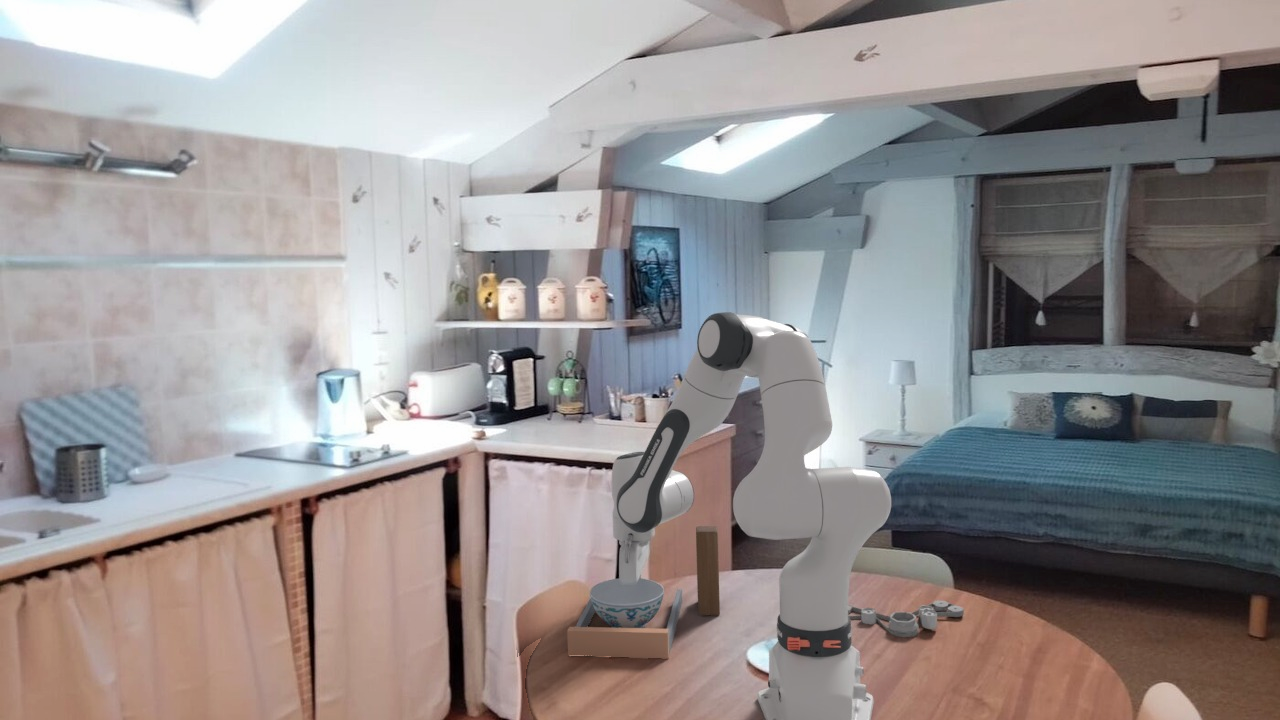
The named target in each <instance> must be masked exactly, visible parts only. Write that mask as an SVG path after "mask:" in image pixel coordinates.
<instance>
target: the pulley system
mask: <svg viewBox="0 0 1280 720" xmlns="http://www.w3.org/2000/svg"><path fill="white" fill-rule="evenodd" d="M964 611H965V610H964V607H963V606H959V605H955V604H953V603H951V602H948V601H946V600H934V601H933V602H931V603H929V604H928V605H925V604H922V605H921V606H919V607H918V609H917V610H915V611H912V612H907V611H894V612H893V613H891V614H889V615H885V614H881V613H878V612H877V611H876V608H872V607H863V608H859V607H856V606H852V605H849V604H848V617H849V618H850V620H860V621H861V622H862V623H863V624H866V625H875V624H876V623H878V624H879V625H880V626H882V627H883V628H884V629H885V631H887V632H888V633H889V634H891V635H892V636H894V637H898V638H914V637H916V636H918V635H919V627H920V623H921V626H922V627H923V628H925V629H928V630H935V629H937V628H938V618H939V617H940V618H941V617H942V618H944V617H946V618H947V617H952V618H959V617H962V616H963V615H964V614H965V613H964ZM851 612H854V613H858V615H850V614H851ZM859 614H860V615H859ZM849 615H850V616H849ZM917 616H918V621H916V620H917ZM880 619H881V620H885V621H888V624H887V625H885V624H884V623H883V622H882V621H881V620H880Z"/></svg>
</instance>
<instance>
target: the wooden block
mask: <svg viewBox="0 0 1280 720" xmlns="http://www.w3.org/2000/svg"><path fill="white" fill-rule="evenodd" d="M695 529H696V530H695V543H696V544H695V545H696V546H695V547H696V578H697V579H696V581H697V583H696V584H697V585H696V586H697V614H698V616H700V615H711V616H720V613H721V607H720V604H721V603H720V575H719V574H720V569H719V534H718V533H719V532H718V531H719V530H718V529H719V528H718V526H716V525H707V526H706V525H704V526H703V525H700V526H696V528H695Z"/></svg>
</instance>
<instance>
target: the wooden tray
mask: <svg viewBox="0 0 1280 720" xmlns="http://www.w3.org/2000/svg"><path fill="white" fill-rule="evenodd" d="M682 604H683V589H682V588H678V589H676V593H675V596H674V599H673V604H672V607H671V611H670V614H669V615H670V616H669V619H668V621H667V622H668V623H667V626H666V628H651V627H650V628H649V627H647V628H646V627H644V628H612V627H606V626H605V627H600V626H599V627H597V626H588V624H589V622H590V620H591V618H592V616H593V615H595V614H594V612H595V609H594V606H593V604H592V601H591V597H589V600H588V602H587V604H586V605H585V608H584V609H583V611H582V613H581V615H580V616H579V618H578V621H577V623H576V624H575V626H569V627H568V629H567V633H566V635H567V636H566V637H567V654H568V655H584V656H585V655H587V656H588V655H589V656H591V655H592V656H611V657H629V658H628V659H648V658H662V659H661V660H668V658H670V654H671V650H672V647H673V646H672V645H673V643H674V642H673V641H674V638H675V634H676V630H677V625H678V621H679V618H680V614H679V613H681V610H680V609H682V606H681V605H682ZM595 613H596V612H595ZM593 617H594V616H593ZM678 617H679V618H678ZM592 619H593V618H592ZM591 621H592V620H591ZM590 623H591V622H590ZM589 625H590V624H589ZM587 626H588V627H587ZM568 655H567V656H568Z"/></svg>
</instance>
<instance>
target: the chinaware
mask: <svg viewBox="0 0 1280 720" xmlns="http://www.w3.org/2000/svg"><path fill="white" fill-rule="evenodd" d="M664 594H665V588H664V586H663V585H662V584H661V583H659V582H657V581H655V580H651V579H647V578H642V577H641V578H639V580H638V582H637V584H636V585H622V584H620V580H619V577H618V578H612V579H608V580H604V581H602V582H599V583H597V584H595V585H593V586H592V587H591V589H590V590H589V598H591V601H592V604H593V606H594V609H595V611H596V612H595V613H596V614H597V615H598V616H599V618H600V619H601V620H602V621H603V622H604V623H606V624H607V625H610V626H611V628H646V627H645V625H646V624H648V623H649V622H650V621H651V620H652V619H653V618H654V617H655V616H656V615H657V613H658V612H659V609H660V608H661V605H662V602H663V599H664Z"/></svg>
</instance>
